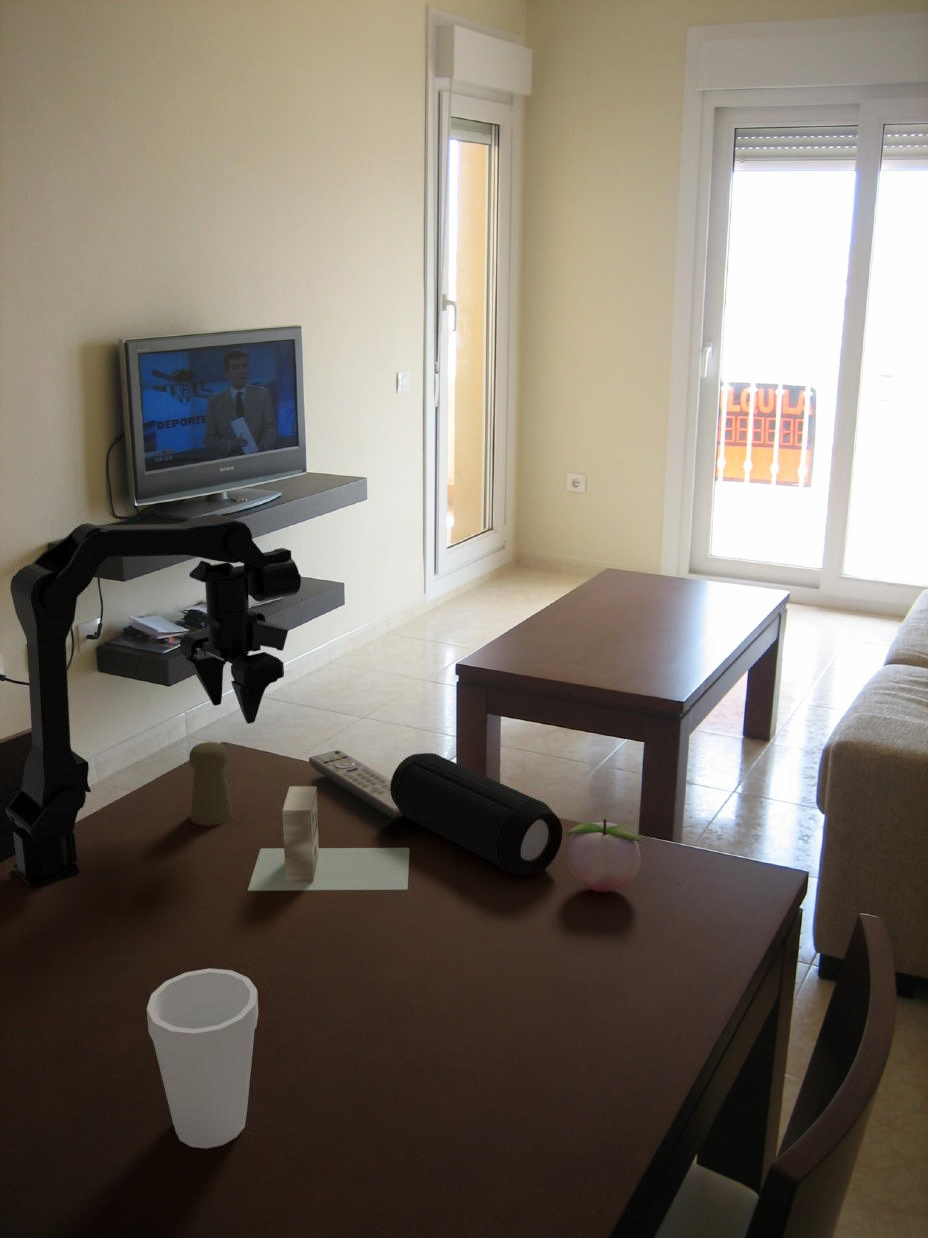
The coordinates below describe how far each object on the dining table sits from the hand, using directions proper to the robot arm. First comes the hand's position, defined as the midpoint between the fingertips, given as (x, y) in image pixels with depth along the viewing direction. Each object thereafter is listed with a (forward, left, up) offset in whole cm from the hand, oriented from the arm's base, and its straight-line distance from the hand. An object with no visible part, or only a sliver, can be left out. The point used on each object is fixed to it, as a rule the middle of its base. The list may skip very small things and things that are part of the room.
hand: (233, 713), depth 162 cm
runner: (0, -24, -15) cm, 28 cm away
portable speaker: (+19, -30, -15) cm, 38 cm away
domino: (-3, -21, -14) cm, 26 cm away
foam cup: (-35, -55, -15) cm, 67 cm away
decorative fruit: (+23, -50, -15) cm, 57 cm away
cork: (-4, 0, -15) cm, 16 cm away
